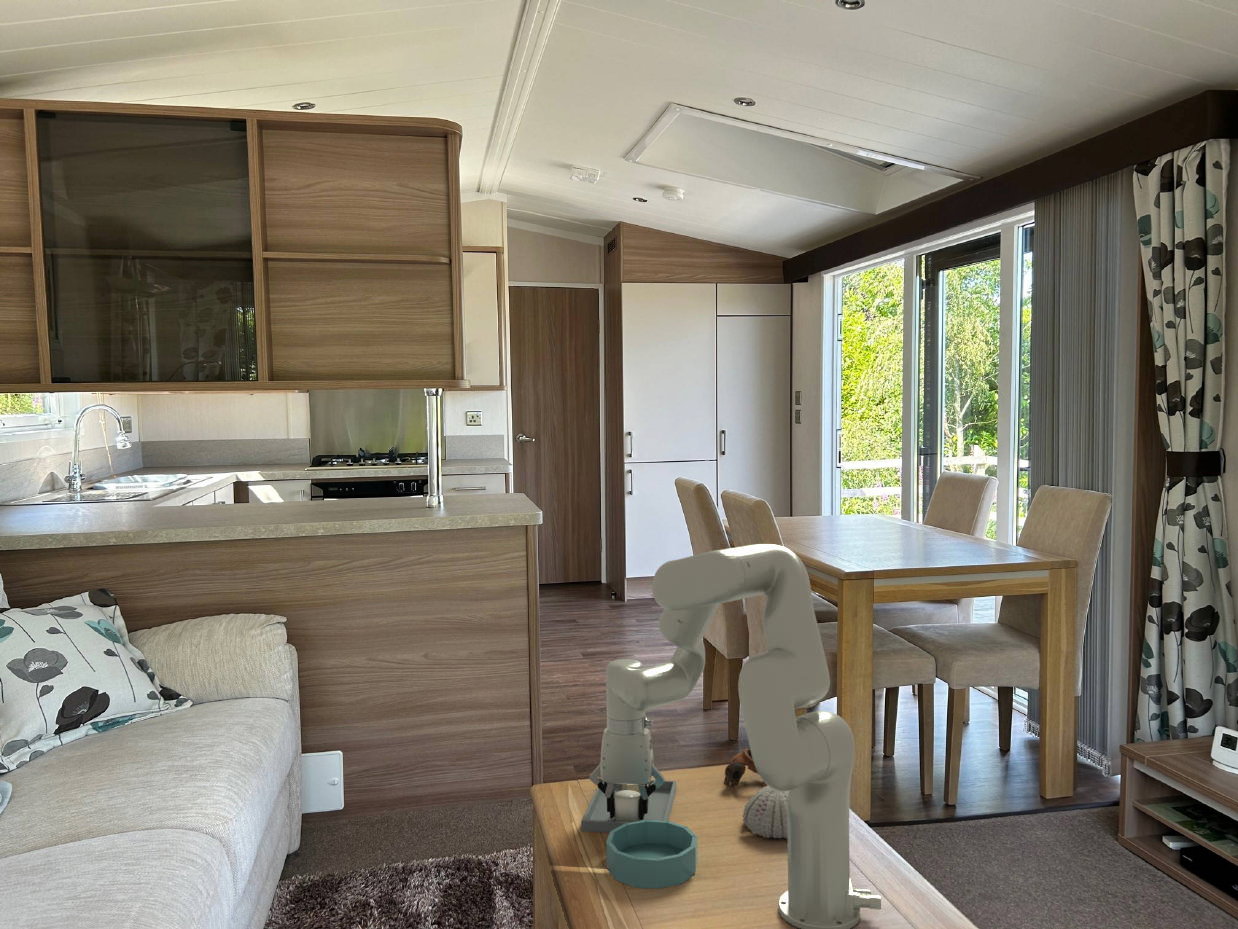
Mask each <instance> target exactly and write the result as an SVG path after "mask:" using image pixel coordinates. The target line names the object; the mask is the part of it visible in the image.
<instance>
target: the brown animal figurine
mask: <svg viewBox="0 0 1238 929" xmlns="http://www.w3.org/2000/svg"><path fill="white" fill-rule="evenodd" d="M746 767H747V770H750V771H752V772H753V773H755V774H757V775H758V776H760V775H759V773H758V771H757V769H756V767H755V764H754V761H753V758H752V754H751V750H750V748H744V749H743V751H742V752H740V753H737V754H735V755H734V756H733V757H732V758H731V759H730V761H729V763H728V765H727V766H726V767H725V770H724V776H725V777H724V778H723V779H724V780H723V781H724V783H725V785H726V786H730V785H731V786H734V787H738V786H739V783H740V781H741V779H742V777H743V775H744V774H745V773H746ZM766 786H768V785H767V784H766V783H765V782H764V781H763V780H762V783H761V789H762V788H763V787H766Z"/></svg>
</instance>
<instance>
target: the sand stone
mask: <svg viewBox="0 0 1238 929" xmlns="http://www.w3.org/2000/svg"><path fill="white" fill-rule="evenodd" d="M647 785H648V784H647ZM623 790H632V791H636V792H638V793H640V790H639V787H638V785H632V784H622V791H623ZM640 795H641V793H640ZM648 803H649V797H648Z"/></svg>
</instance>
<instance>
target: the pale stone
mask: <svg viewBox="0 0 1238 929" xmlns="http://www.w3.org/2000/svg"><path fill="white" fill-rule="evenodd" d="M640 797H641V795H640V793H638V792H636V791H632V790H623V791H619V792H617V793H615V794H614V821H617V822H636V821H641V820H640V819H639V799H640Z"/></svg>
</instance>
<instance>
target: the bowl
mask: <svg viewBox="0 0 1238 929" xmlns="http://www.w3.org/2000/svg"><path fill="white" fill-rule="evenodd" d="M605 848H606V849H605V850H606V852H605V856H606V858H605V859H606V862H605V863H606V867H607V868H606V870H607V872H609V874H610V875H611V876H612V878H613V879H614V880H615V881H616V882H619V883H622V884H624V885H628V886H630V887H633V888H638V889H639V888H640V889H641V888H642V889H656V890H661V889H665V888H670V887H673V886H680V885H683V884H684V883H685V882H687V881H688V880H690V879H692V877H695V876H696V875H695V874H696V873H695V872H696V871H697V866H698V861H699V860H698V858H699V856H698V853H699V852H698V835H697V834H696V833H695V832H693V830H691V829H690V828H689V827H688V826H685V825H683V824H679V823H677V822H674V821H670V820H669V821H662V820H641V821H636V822H630V823H625V824H623V825H621V826H619V827H617V828H616V829H614V830H612V831H610V833H609V834H608V836H607V838H606V841H605Z"/></svg>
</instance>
